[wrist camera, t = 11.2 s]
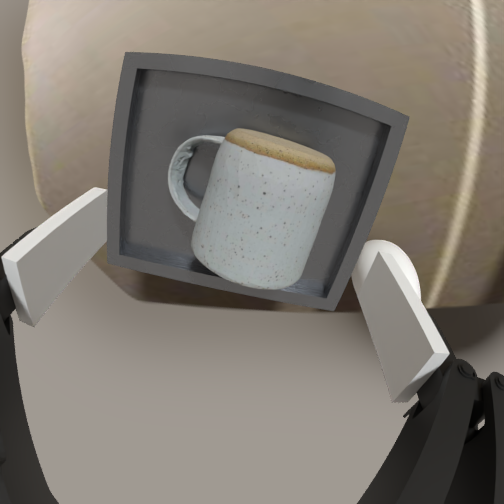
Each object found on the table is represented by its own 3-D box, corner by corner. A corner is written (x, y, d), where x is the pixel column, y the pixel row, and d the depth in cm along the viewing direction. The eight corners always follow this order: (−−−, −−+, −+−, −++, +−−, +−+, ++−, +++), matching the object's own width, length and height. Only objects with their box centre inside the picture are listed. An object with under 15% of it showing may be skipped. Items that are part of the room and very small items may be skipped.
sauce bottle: (339, 232, 39) (383, 325, 23) (393, 222, 38) (459, 303, 22) (344, 280, 42) (378, 378, 27) (393, 269, 41) (444, 358, 25)
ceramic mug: (330, 149, 20) (360, 175, 13) (295, 246, 24) (304, 307, 17) (186, 110, 19) (145, 117, 13) (166, 212, 23) (128, 261, 16)
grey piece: (353, 108, 31) (413, 118, 17) (313, 236, 39) (337, 311, 26) (177, 68, 29) (121, 52, 16) (156, 202, 37) (104, 262, 24)
